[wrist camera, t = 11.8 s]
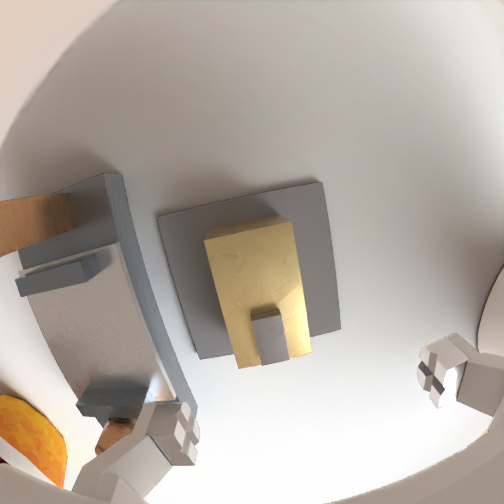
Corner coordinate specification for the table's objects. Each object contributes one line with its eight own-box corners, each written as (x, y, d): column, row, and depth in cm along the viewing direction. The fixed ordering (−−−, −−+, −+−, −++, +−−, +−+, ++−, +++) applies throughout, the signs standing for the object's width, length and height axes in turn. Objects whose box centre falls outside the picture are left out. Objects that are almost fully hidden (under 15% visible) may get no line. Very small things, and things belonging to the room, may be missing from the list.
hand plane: (32, 209, 17) (-59, 231, 8) (122, 174, 17) (29, 171, 8) (113, 410, 22) (81, 485, 12) (197, 405, 22) (186, 498, 12)
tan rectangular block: (210, 228, 18) (202, 243, 13) (279, 213, 18) (294, 224, 13) (237, 336, 20) (239, 376, 15) (298, 323, 20) (314, 360, 15)
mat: (319, 182, 18) (322, 182, 18) (338, 325, 21) (340, 329, 20) (159, 216, 18) (156, 217, 18) (200, 355, 21) (199, 359, 20)
